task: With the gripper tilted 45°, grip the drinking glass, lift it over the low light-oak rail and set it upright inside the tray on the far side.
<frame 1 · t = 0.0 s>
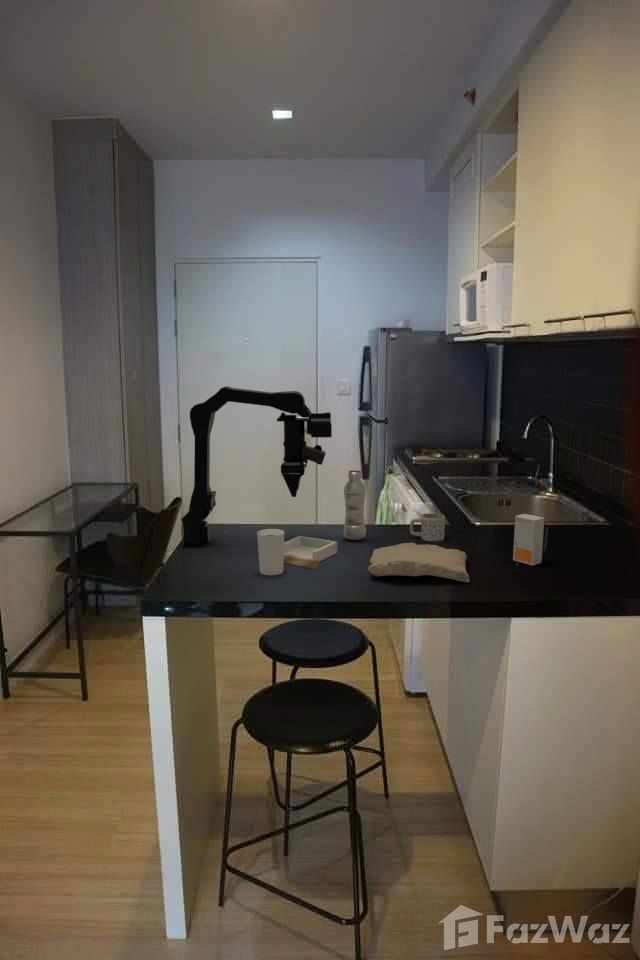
hand: (295, 493, 185), 15 cm above the counter, tool pointing down, fingers open, 9 cm apart
tray: (306, 554, 178), on the counter
plastic bottle: (354, 540, 193), on the counter
beige flat stone slab: (417, 574, 164), on the counter
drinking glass: (271, 572, 165), on the counter
oak rail: (289, 562, 172), on the counter
mug: (426, 538, 194), on the counter
skincare box: (527, 562, 171), on the counter
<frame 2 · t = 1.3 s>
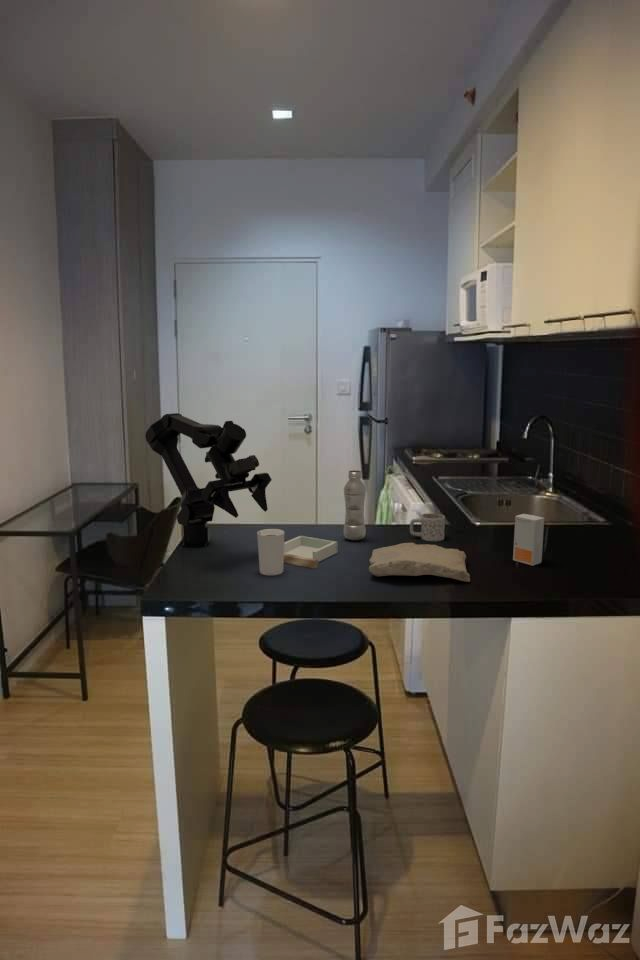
hand: (252, 513, 168), 13 cm above the counter, tool tilted 45°, fingers open, 9 cm apart
nothing on the counter moved.
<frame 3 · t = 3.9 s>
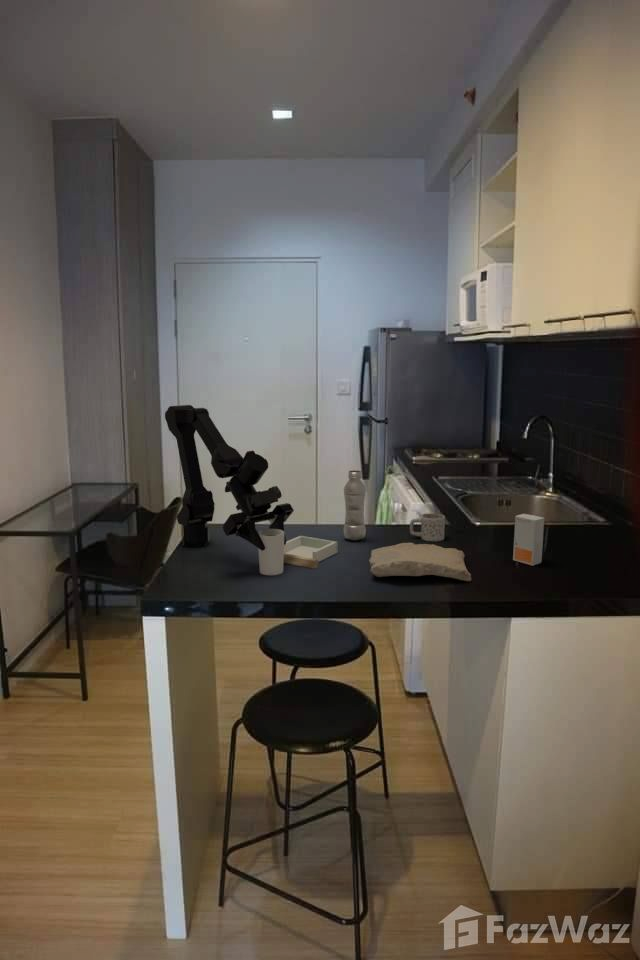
hand: (274, 547, 163), 7 cm above the counter, tool tilted 45°, fingers closed on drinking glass, 6 cm apart
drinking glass: (271, 572, 165), on the counter, touching gripper
everything else where it was.
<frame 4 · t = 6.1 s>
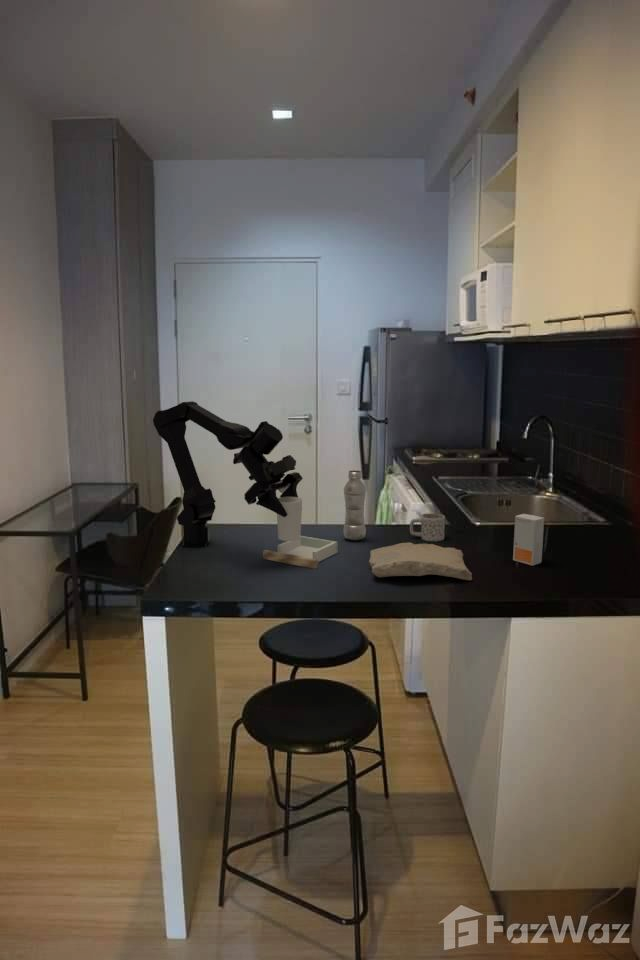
hand: (293, 513, 168), 13 cm above the counter, tool tilted 45°, fingers closed on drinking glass, 6 cm apart
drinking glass: (289, 538, 170), point 6 cm above the counter, touching gripper
everything else where it was.
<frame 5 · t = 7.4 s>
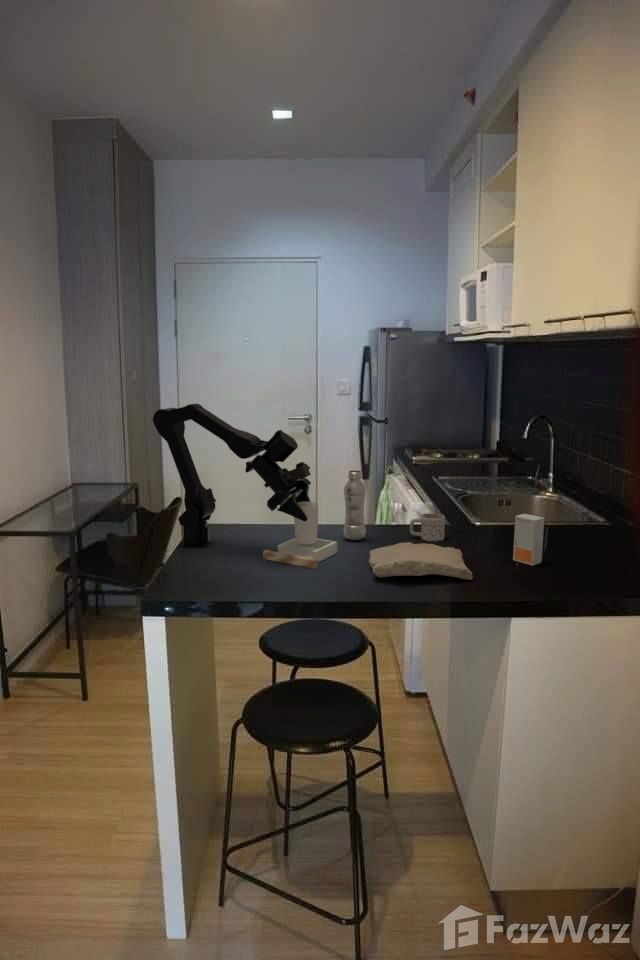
hand: (310, 517, 176), 10 cm above the counter, tool tilted 45°, fingers closed on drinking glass, 6 cm apart
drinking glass: (306, 541, 178), point 4 cm above the counter, touching gripper
when the fingers open (8 cm above the counter, at t = 8.3 s): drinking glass drops 1 cm, resting on tray.
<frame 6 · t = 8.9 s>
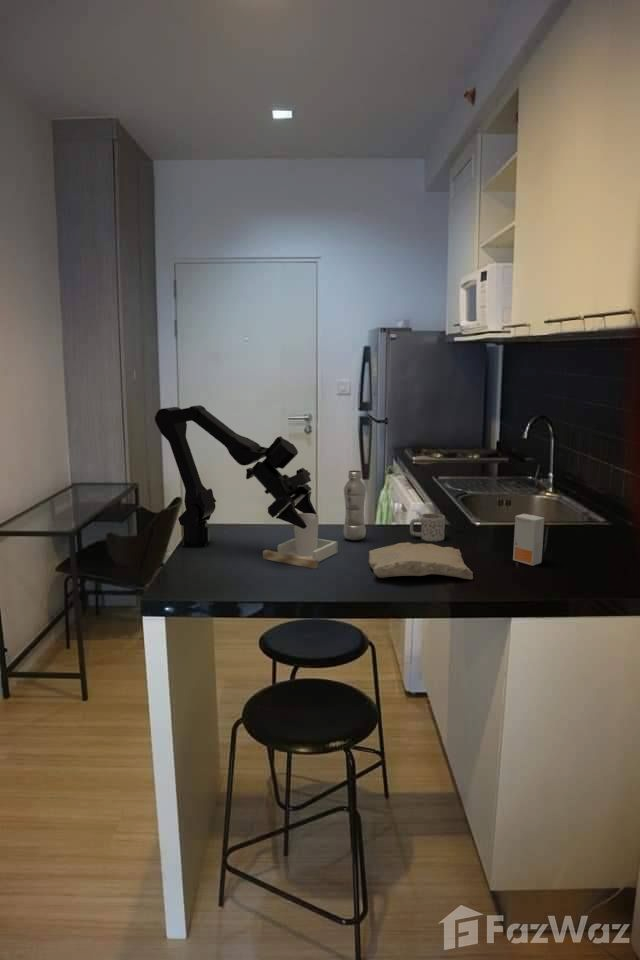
hand: (311, 523, 176), 9 cm above the counter, tool tilted 45°, fingers open, 9 cm apart
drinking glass: (306, 553, 178), resting on tray
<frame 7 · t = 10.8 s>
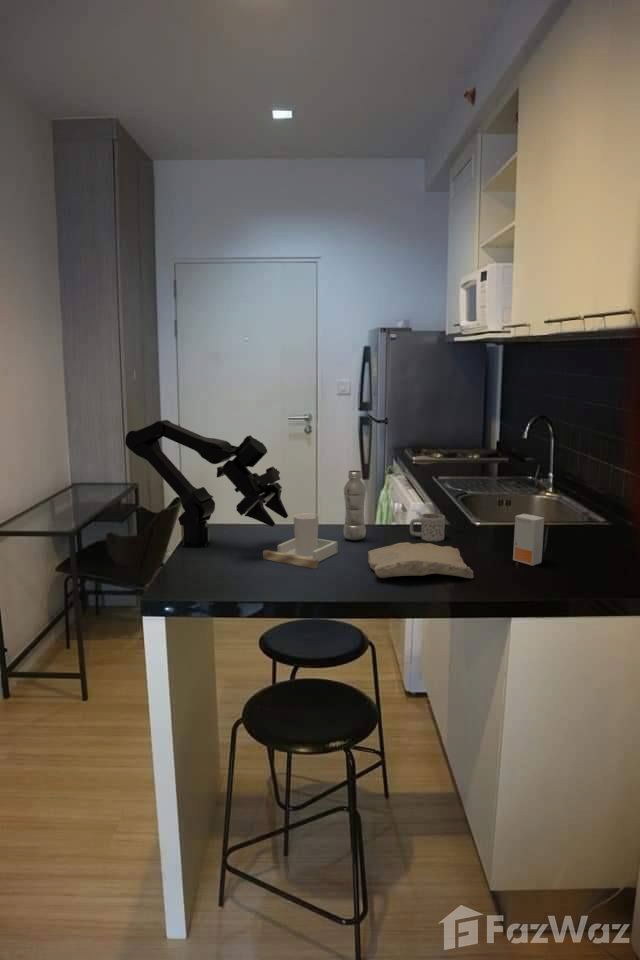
hand: (280, 521, 179), 9 cm above the counter, tool tilted 45°, fingers open, 9 cm apart
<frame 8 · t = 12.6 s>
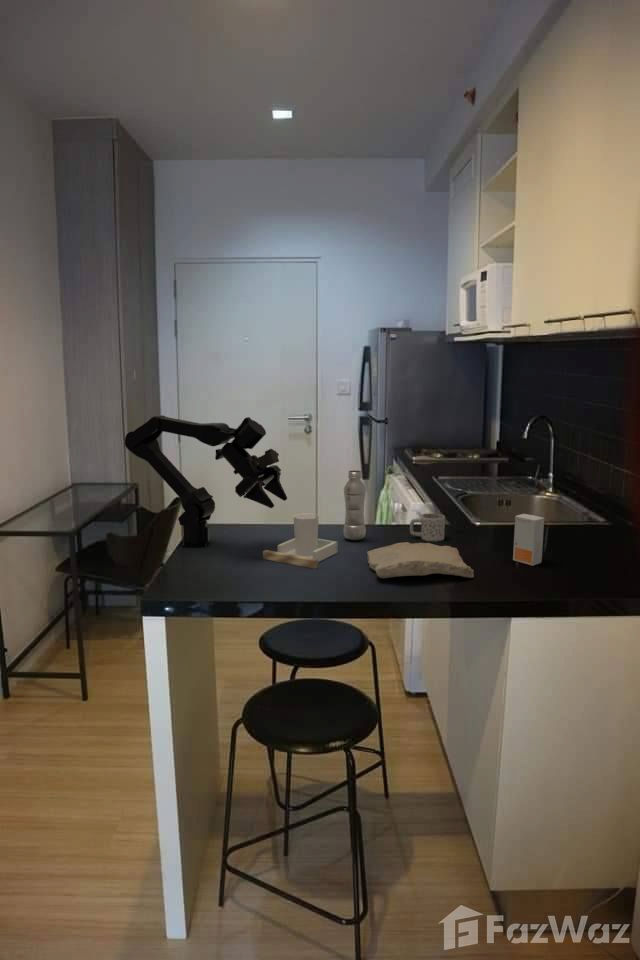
hand: (279, 503, 178), 14 cm above the counter, tool tilted 45°, fingers open, 9 cm apart
at the end: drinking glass 0.1 cm off-centre on the tray, point 0.4 cm above the tray's base; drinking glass tilted 0°; the gripper is holding nothing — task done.
